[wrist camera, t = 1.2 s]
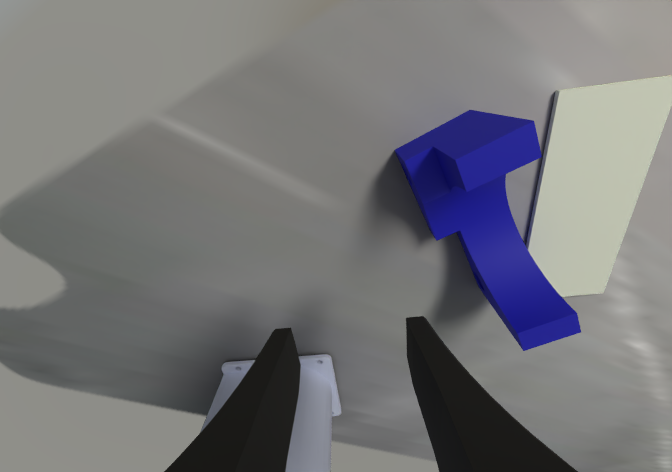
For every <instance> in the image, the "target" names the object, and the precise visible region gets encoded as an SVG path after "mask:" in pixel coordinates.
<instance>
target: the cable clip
mask: <svg viewBox="0 0 672 472" xmlns="http://www.w3.org/2000/svg"><path fill="white" fill-rule="evenodd" d="M395 152H396V155H397V157H398V159H399V161H400V164H401V166H402V168H403V170H404V172H405V175H406V177H407V179H408V181H409V184H410V186H411V188H412V190H413V193H414V195H415V197H416V199H417V202H418V204H419V206H420V208H421V211H422V213H423V215H424V217H425V220H426V222H427V224H428V226H429V229H430V231H431V233H432V234H433V236H434V237H435V239H436V240H439V239H442V238H444V237H446V236H448V235H451V234H453V233H455V232H457V234H458V237H459V239H460V242H461V244H462V246H463V249H464V251H465V254H466V256H467V259H468V261H469V264H470V266H471V269H472V271H473V274H474V276H475V279H476V281H477V284H478V286H479V288H480V289H481V291H482V292H483V294H484V295H485V297H486V298H487V299H488V301H489V302H490V304H491V305H492V307H493V308H494V309H495V311H496V312H497V314H498V315H499V317H500V318H501V319H502V321H503V322H504V324H505V325H506V327H507V328H508V329H509V331H510V332H511V334H512V335H513V336H514V338H515V339H516V341H517V342H518V344H519V345H520V346H521V348H522V349H523V351H525V350H528V349H531V348H534V347H537V346H540V345H543V344H546V343H549V342H552V341H555V340H558V339H561V338H564V337H568V336H571V335H574V334H577V333H580V332H581V330H580V325H579V321H578V316H577V313H576V312H575V311H574V310H573V309H572V308H571V307H570V306H569V305H568V304H567V303H566V302H565V300H564V299H563V298H562V297H561V296H560V295H559V294H558V293H557V291H556V290H555V289H554V288H553V286H552V285H551V284H550V283H549V281H548V280H547V279H546V277H545V276H544V274H543V273H542V272H541V270H540V269H539V267H538V266H537V264H536V263H535V261H534V260H533V258H532V256H531V255H530V253H529V251H528V249H527V248H526V246H525V244H524V242H523V240H522V238H521V236H520V234H519V232H518V230H517V227H516V225H515V223H514V220H513V217H512V215H511V212H510V208H509V205H508V201H507V196H506V188H505V177H506V173H509V172H511V171H513V170H515V169H517V168H519V167H521V166H524V165H526V164H528V163H530V162H532V161H534V160H536V159H538V158H541V157H542V155H541V151H540V146H539V142H538V137H537V133H536V128H535V124H534V121H532V120H526V119H520V118H514V117H509V116H503V115H497V114H491V113H485V112H480V111H474V110H469V111H467V112H465V113H463V114H461V115H460V116H458V117H456V118H454V119H452V120H450V121H448V122H446V123H445V124H443V125H441V126H439V127H437V128H435V129H433V130H431V131H429V132H428V133H426V134H424V135H422V136H420V137H418V138H416V139H414V140H413V141H411V142H409V143H407V144H405V145H403V146H401V147H399V148H397V149H396V150H395Z"/></svg>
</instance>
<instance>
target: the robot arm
mask: <svg viewBox="0 0 672 472" xmlns="http://www.w3.org/2000/svg"><path fill="white" fill-rule="evenodd" d="M406 329H407V359H408V363H409V368H410V373H411V378H412V383H413V386H414V390H415V393H416V396H417V399H418V403H419V406H420V409H421V412H422V415H423V418H424V422H425V425H426V428H427V431H428V434H429V437H430V441H431V444H432V447H433V450H434V453H435V457H436V461H437V464H438V468H439V472H578V471H576V470H575V469H574V468H572V467H571V466H570V465H569V464H568V463H566V462H565V461H564V460H563V459H561V458H560V457H559V456H558V455H557V454H555V453H554V452H553V451H552V450H551V449H549V448H548V447H547V446H546V445H544V444H543V443H542V442H541V441H540V440H538V439H537V438H536V437H535V436H534V435H532V434H531V433H530V432H529V431H528V430H527V429H526V428H525V427H523V426H522V425H521V424H520V423H519V422H518V421H517V420H516V419H514V418H513V417H512V416H511V415H510V414H509V413H508V412H507V411H506V410H505V409H504V408H503V407H502V406H501V405H500V404H498V403H497V402H496V401H495V400H494V399H493V398H492V397H491V396H490V395H489V394H488V393H487V392H486V391H485V390H484V388H483V387H482V386H481V385H480V384H479V383H478V382H477V381H476V380H475V379H474V378H473V377H472V376H471V375H470V374H469V372H468V371H467V370H466V369H465V368H464V367H463V366H462V364H461V363H460V362H459V361H458V360H457V359H456V357H455V356H454V355H453V354H452V353H451V352H450V350H449V349H448V348H447V347H446V345H445V344H444V343H443V341H442V340H441V339H440V338H439V336H438V335H437V334H436V332H435V331H434V330H433V328H432V327H431V325H430V324H429V322H428V321H427V319H426V318H425V317H423V316H421V317H409V318H406ZM319 360H321V361H319ZM221 369H222V372H223V374H224V375H223V378H222V380H221V383H220V385H219V388H218V390H217V392H216V395H215V397H214V400H213V402H212V405H211V407H210V410H209V412H208V415H207V417H206V420H205V422H204V425H203V427H202V430H201V432H200V434H199V435H198V436H197V437H196V438H195V440H194V441H193V442H192V443H191V444H190V445H189V446H188V447H187V448H186V449H185V451H184V452H183V453H182V454H181V455H180V456H179V457H178V458H177V459H176V460H175V461H174V462H173V463H172V464H171V466H169V467H168V468H167V470H166V471H164V472H331V436H332V416H338V415H340V414H341V405H340V400H339V394H338V389H337V384H336V379H335V373H334V368H333V363H332V358H331V356H330V355H327V354H321V355H309V356H298V353H297V349H296V345H295V341H294V337H293V334H292V330H291V328H283V329H275V330H274V331H273V333H272V334H271V336H270V338H269V339H268V341H267V342H266V344H265V346H264V347H263V349H262V351H261V352H260V354H259V355H258V357H257V358H256V360H247V361H235V362H225V363H224V364H223V365H222V368H221Z"/></svg>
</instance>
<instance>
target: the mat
mask: <svg viewBox="0 0 672 472" xmlns="http://www.w3.org/2000/svg"><path fill="white" fill-rule="evenodd" d="M671 106H672V75H668V76H661V77H653V78H646V79H638V80H631V81H624V82H616V83H609V84H601V85H594V86H587V87H579V88H572V89H564V90H557V91H556V93H555V98H554V103H553V108H552V113H551V118H550V124H549V129H548V134H547V139H546V144H545V149H544V154H543V160H542V165H541V170H540V175H539V180H538V185H537V191H536V196H535V201H534V206H533V211H532V216H531V221H530V227H529V232H528V237H527V242H526V248H527V249H528V251H529V253H530V255H531V256H532V258H533V260H534V261H535V263H536V264H537V266H538V267H539V269H540V270H541V272H542V273H543V274H544V276H545V277H546V279H547V280H548V281H549V283H550V284H551V285H552V286H553V288H554V289H555V290H556V291H557V293H558V294H559V295H560V296H561V297H566V296H577V295H588V294H599V293H604V290H605V287H606V284H607V282H608V279H609V276H610V273H611V271H612V268H613V265H614V262H615V260H616V257H617V254H618V251H619V249H620V246H621V243H622V240H623V238H624V235H625V232H626V229H627V227H628V224H629V221H630V218H631V216H632V213H633V210H634V207H635V205H636V202H637V199H638V196H639V194H640V191H641V188H642V185H643V183H644V180H645V177H646V174H647V172H648V169H649V166H650V163H651V161H652V158H653V155H654V152H655V150H656V147H657V144H658V141H659V139H660V136H661V133H662V130H663V128H664V125H665V122H666V119H667V117H668V114H669V111H670V108H671Z"/></svg>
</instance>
